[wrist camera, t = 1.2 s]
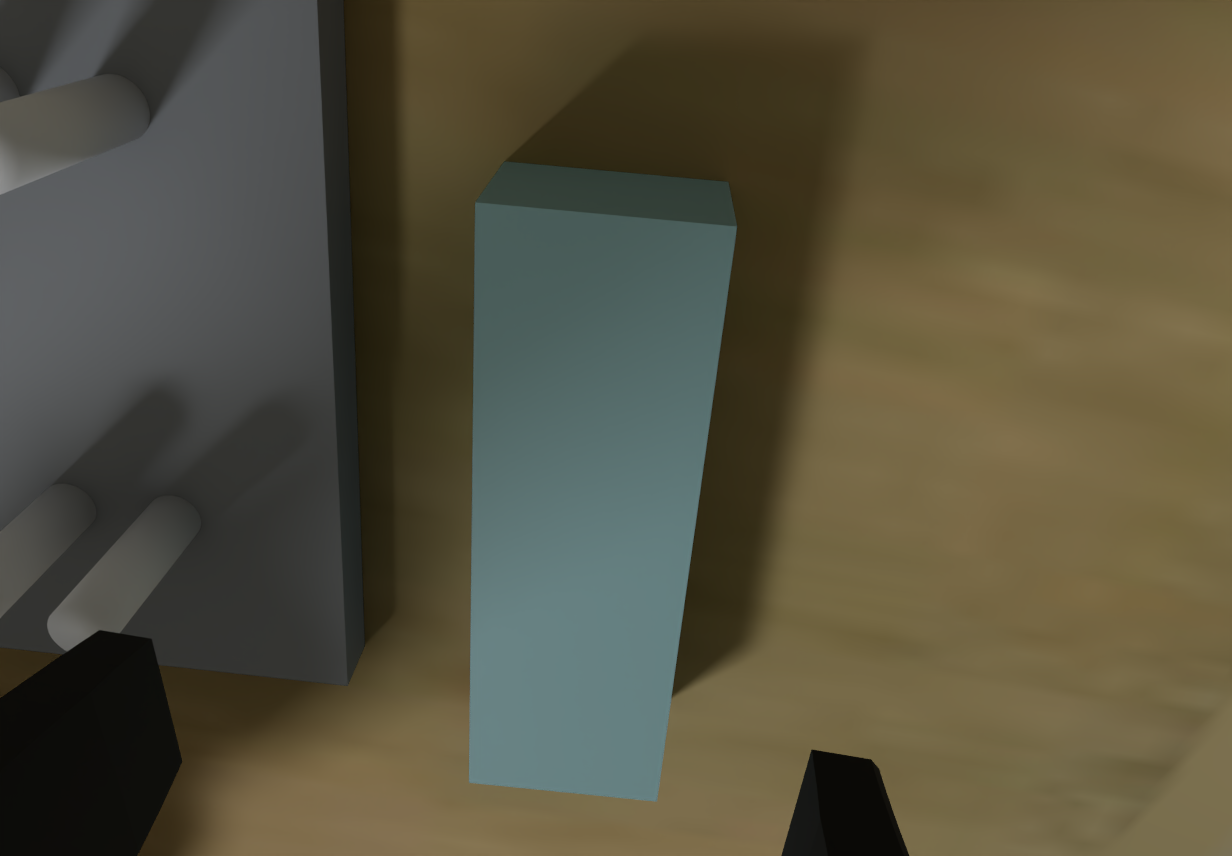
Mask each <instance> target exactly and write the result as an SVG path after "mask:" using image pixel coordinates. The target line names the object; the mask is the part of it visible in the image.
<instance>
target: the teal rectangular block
mask: <svg viewBox="0 0 1232 856" xmlns="http://www.w3.org/2000/svg"><path fill="white" fill-rule="evenodd" d="M736 231H737V223H736V218H735V213H734V208H733V203H732V198H731V193H730V188H729V183H728V182H724V181H713V180H702V179H691V178H680V177H669V176H658V175H648V174H637V173H626V172H615V171H604V170H593V169H582V168H571V167H560V166H549V165H538V164H528V163H517V162H506V161H504V163H503V164H502V165H501V167H500V168H499V170H498V171H497V172H496V174H495V175H494V177H493V178H492V179H491V181H490V182H489V184H488V185H487V186H486V188H485V189H484V191H483V192H482V193H481V195H480V196H479V198H478V199H477V201H476V202H475V266H474V362H473V458H472V554H471V649H470V745H469V783H478V784H488V785H498V786H508V787H518V788H528V789H538V790H548V791H558V792H568V793H578V794H588V795H598V796H608V797H618V798H628V799H638V800H647V801H657V797H658V790H659V782H660V775H661V768H662V761H663V754H664V747H665V739H666V732H667V725H668V718H669V711H670V704H671V696H672V689H673V682H674V675H675V668H676V661H677V654H678V646H679V639H680V632H681V625H682V618H683V611H684V603H685V596H686V589H687V582H688V575H689V568H690V561H691V553H692V546H693V539H694V532H695V525H696V518H697V510H698V503H699V496H700V489H701V482H702V475H703V467H704V460H705V453H706V446H707V439H708V432H709V425H710V417H711V410H712V403H713V396H714V389H715V382H716V374H717V367H718V360H719V353H720V346H721V339H722V331H723V324H724V317H725V310H726V303H727V296H728V289H729V281H730V274H731V267H732V260H733V253H734V246H735V238H736Z"/></svg>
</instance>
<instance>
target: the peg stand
mask: <svg viewBox="0 0 1232 856" xmlns="http://www.w3.org/2000/svg"><path fill="white" fill-rule="evenodd" d="M99 630H103V631H109V632H115V633H121V634H127V635H133V636H139V637H145V638H151V639H152V642H153V646H154V650H155V654H156V658H157V662H158V665H163V666H172V667H181V668H190V669H200V670H209V671H218V672H227V673H236V674H245V675H254V676H263V677H272V678H281V679H290V680H299V681H308V682H317V683H326V684H335V685H344V686H348V684H349V682H350V679H351V677H352V675H353V672H354V670H355V668H356V665H357V663H358V661H359V658H360V656H361V654H362V651H363V649H364V647H365V639H364V608H363V578H362V548H361V517H360V487H359V457H358V427H357V396H356V366H355V336H354V305H353V275H352V245H351V214H350V184H349V154H348V124H347V93H346V63H345V33H344V2H343V0H0V647H1V648H10V649H19V650H28V651H37V652H46V653H55V654H64V653H66V652H67V651H69V650H70V649H72V648H73V647H75V646H76V645H78V644H79V643H81V642H82V641H84V640H85V639H87V638H88V637H90V636H91V635H93V634H94V633H96V632H97V631H99Z"/></svg>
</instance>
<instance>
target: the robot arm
mask: <svg viewBox="0 0 1232 856" xmlns="http://www.w3.org/2000/svg"><path fill="white" fill-rule="evenodd" d="M181 763H182V759H181V755H180V750H179V746H178V742H177V738H176V734H175V730H174V726H173V722H172V718H171V714H170V710H169V706H168V702H167V698H166V694H165V690H164V686H163V682H162V678H161V674H160V670H159V666H158V662H157V658H156V654H155V650H154V646H153V642H152V639H151V638H145V637H139V636H133V635H127V634H121V633H115V632H109V631H103V630H99V631H97V632H96V633H94V634H93V635H91V636H90V637H88V638H87V639H85V640H84V641H82V642H81V643H79V644H78V645H76V646H75V647H73V648H72V649H70V650H69V651H67V652H66V653H64V654H63V655H62V656H60V657H59V658H57V659H56V660H54V661H53V662H51V663H50V664H49V665H47V666H46V667H44V668H43V669H41V670H40V671H39V672H37V673H36V674H34V675H33V676H31V677H30V678H29V679H27V680H26V681H24V682H23V683H21V684H20V685H19V686H17V687H16V688H14V689H13V690H11V691H10V692H9V693H7V694H6V695H4V696H3V697H1V698H0V856H137V855H138V853H139V851H140V849H141V847H142V845H143V843H144V841H145V839H146V837H147V835H148V833H149V831H150V829H151V827H152V825H153V823H154V821H155V819H156V817H157V815H158V813H159V811H160V809H161V807H162V804H163V802H164V800H165V798H166V796H167V794H168V791H169V789H170V787H171V785H172V783H173V781H174V778H175V776H176V774H177V772H178V770H179V768H180V765H181ZM782 856H909V854H908V851H907V848H906V846H905V843H904V841H903V838H902V835H901V833H900V830H899V827H898V824H897V821H896V819H895V816H894V813H893V810H892V807H891V804H890V801H889V798H888V796H887V793H886V790H885V786H884V783H883V780H882V777H881V774H880V770H879V768H878V767H877V766H876V765H875V764H874V762H873V761H872V760H871V759H865V758H859V757H853V756H847V755H841V754H835V753H829V752H823V751H817V750H811V754H810V757H809V761H808V764H807V768H806V771H805V775H804V778H803V782H802V785H801V789H800V792H799V796H798V799H797V803H796V807H795V810H794V814H793V817H792V821H791V824H790V828H789V831H788V835H787V838H786V842H785V845H784V849H783V852H782Z"/></svg>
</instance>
